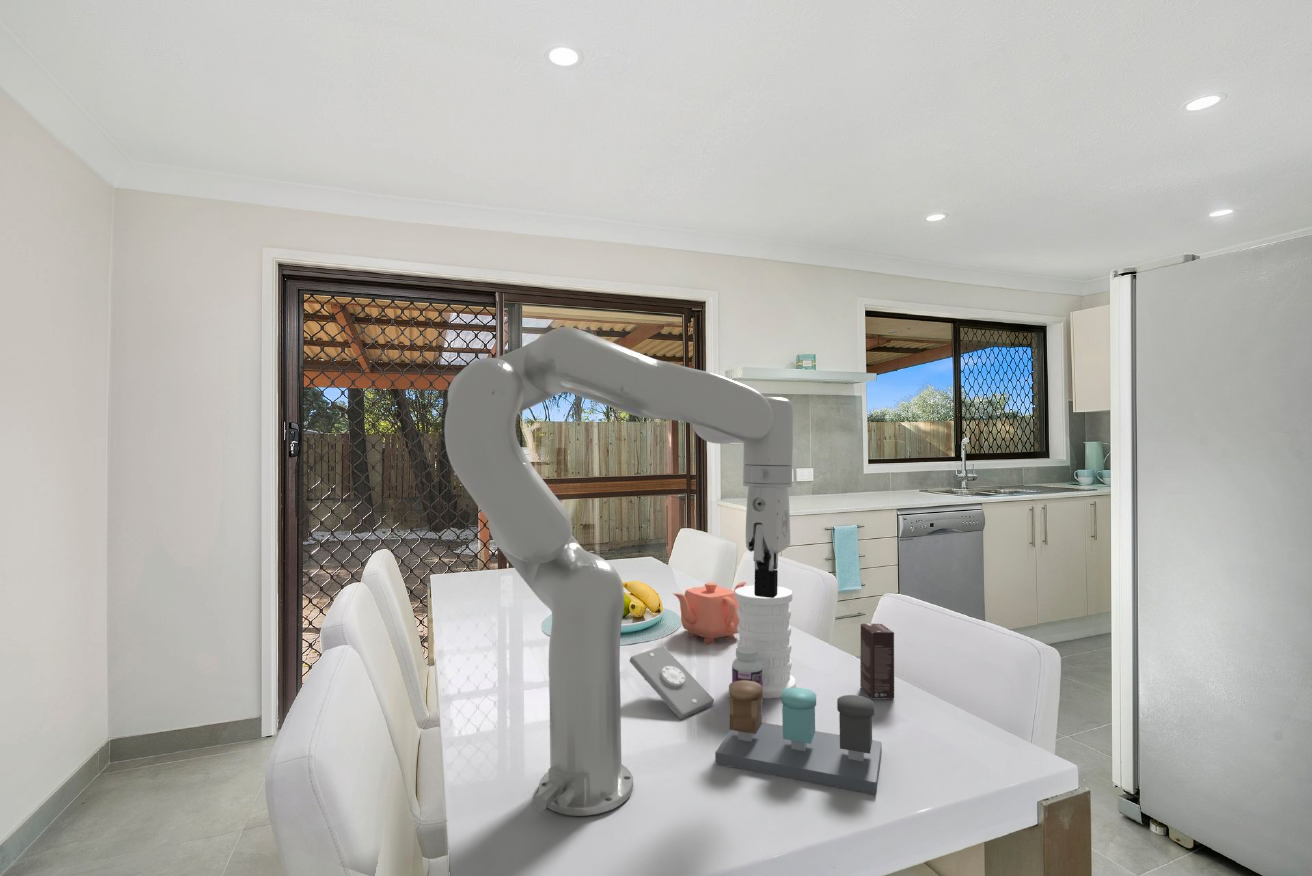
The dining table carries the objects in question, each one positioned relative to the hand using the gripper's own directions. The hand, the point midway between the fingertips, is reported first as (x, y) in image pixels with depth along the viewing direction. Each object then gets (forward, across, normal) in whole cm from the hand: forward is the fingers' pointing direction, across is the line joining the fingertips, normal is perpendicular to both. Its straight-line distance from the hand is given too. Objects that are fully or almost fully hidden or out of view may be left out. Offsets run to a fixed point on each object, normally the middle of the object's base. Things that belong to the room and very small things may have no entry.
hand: (765, 595), depth 97 cm
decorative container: (+22, +23, +6) cm, 32 cm away
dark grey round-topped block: (+19, -2, -14) cm, 24 cm away
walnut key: (+20, -2, +2) cm, 20 cm away
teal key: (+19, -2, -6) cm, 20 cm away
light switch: (+23, +9, +19) cm, 32 cm away
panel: (+23, -2, -6) cm, 23 cm away
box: (+22, +27, -14) cm, 38 cm away
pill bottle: (+23, +14, +6) cm, 27 cm away
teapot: (+22, +48, +25) cm, 59 cm away
